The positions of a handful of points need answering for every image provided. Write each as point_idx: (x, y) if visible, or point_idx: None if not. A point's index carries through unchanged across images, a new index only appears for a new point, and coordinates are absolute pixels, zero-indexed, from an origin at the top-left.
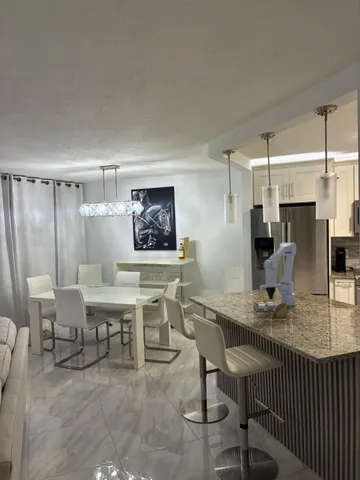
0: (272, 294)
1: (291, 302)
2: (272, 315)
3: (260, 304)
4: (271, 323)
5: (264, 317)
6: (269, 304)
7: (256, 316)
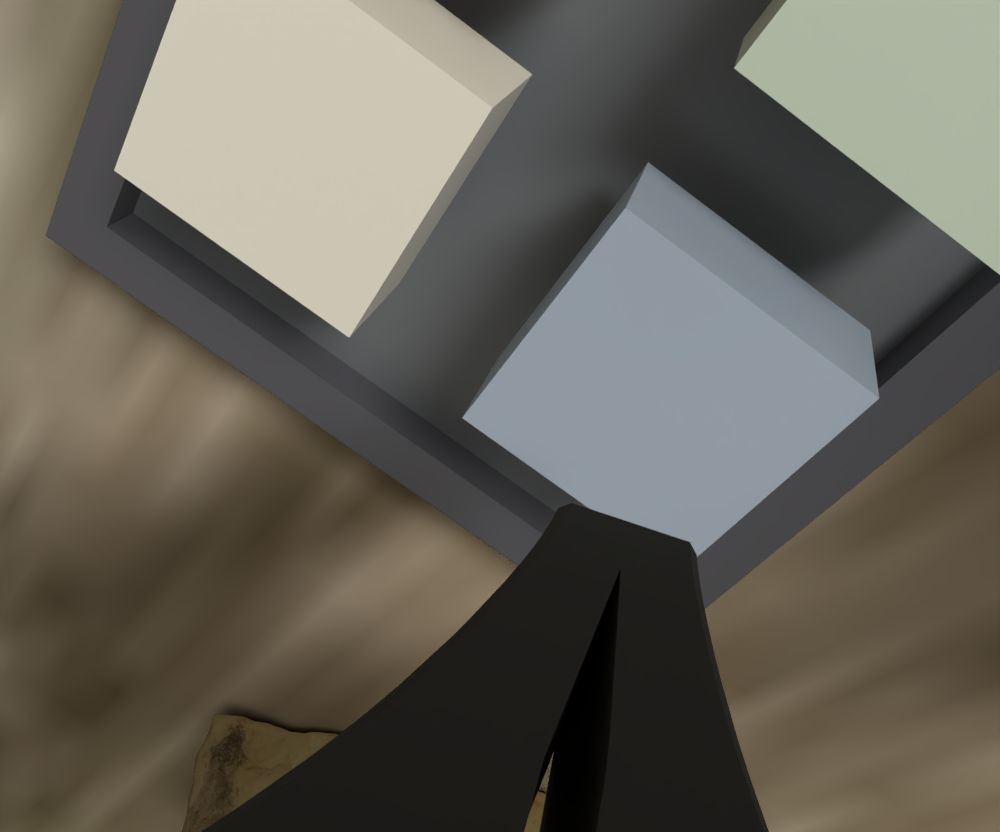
0: None
1: None
2: (190, 793)
3: (265, 54)
4: (101, 815)
5: (158, 551)
6: (625, 338)
7: (26, 382)
